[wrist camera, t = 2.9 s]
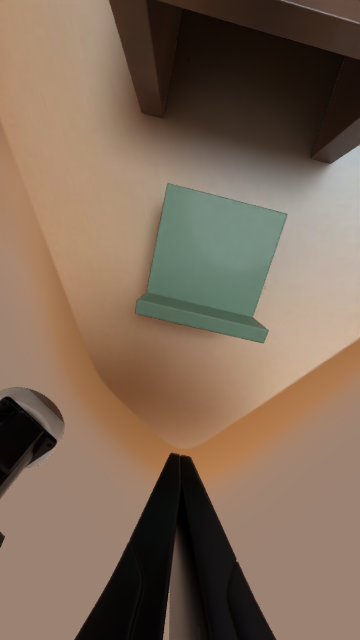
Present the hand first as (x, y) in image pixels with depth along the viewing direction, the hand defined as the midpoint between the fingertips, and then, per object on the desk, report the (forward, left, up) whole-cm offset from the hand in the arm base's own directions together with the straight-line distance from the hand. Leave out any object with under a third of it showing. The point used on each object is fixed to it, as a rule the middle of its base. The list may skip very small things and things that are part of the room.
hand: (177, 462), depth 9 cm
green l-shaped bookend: (+6, +5, -10) cm, 13 cm away
